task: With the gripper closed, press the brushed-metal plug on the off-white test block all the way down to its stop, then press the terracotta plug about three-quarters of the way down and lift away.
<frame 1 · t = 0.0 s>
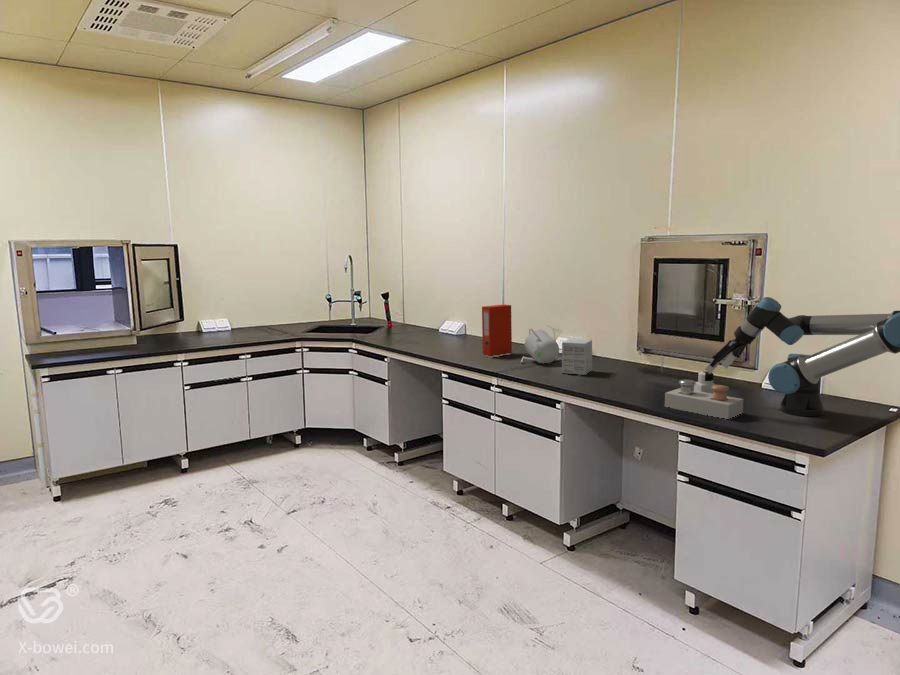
hand: (716, 369, 249), 15 cm above the worktop, tool tilted 35°, fingers open, 13 cm apart
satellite: (542, 363, 351), on the worktop
file binder: (497, 356, 377), on the worktop
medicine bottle: (705, 399, 260), on the worktop
test block: (702, 410, 244), on the worktop
supplement box: (577, 373, 321), on the worktop
terracotta plug: (719, 395, 237), point 7 cm above the worktop, slide at 0.0 cm
metal plug: (687, 390, 248), point 7 cm above the worktop, slide at 0.0 cm
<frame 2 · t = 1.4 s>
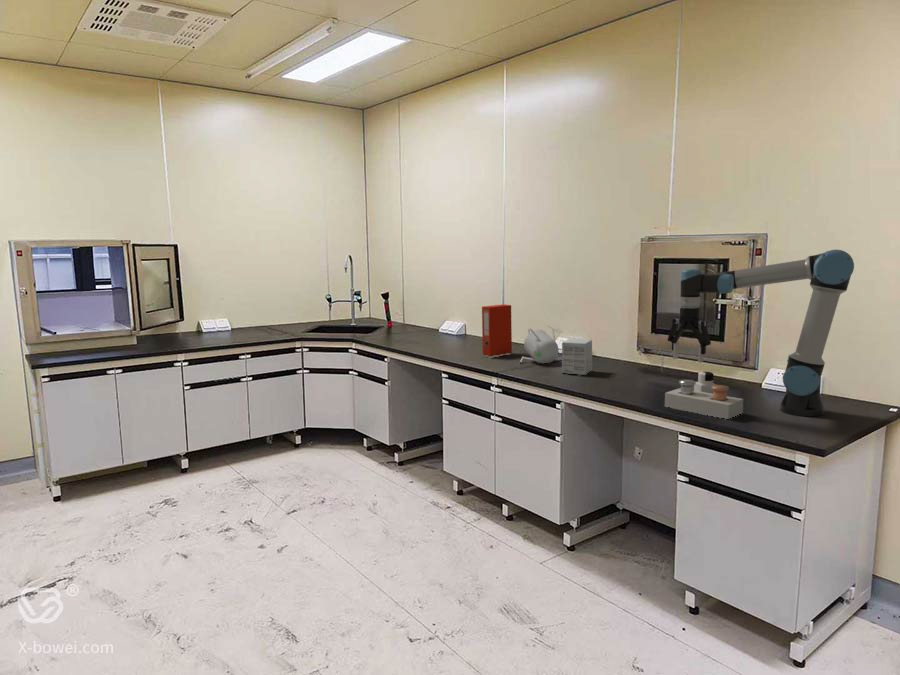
hand: (688, 360, 246), 20 cm above the worktop, tool pointing down, fingers open, 10 cm apart
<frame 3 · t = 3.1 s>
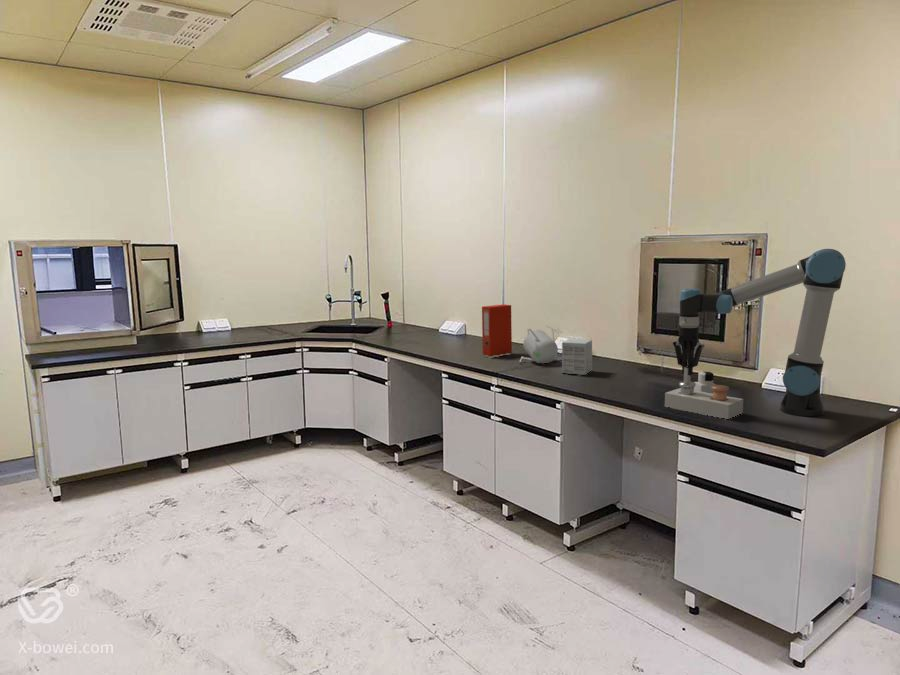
hand: (687, 382, 247), 11 cm above the worktop, tool pointing down, fingers closed
metal plug: (687, 391, 248), point 6 cm above the worktop, slide at 0.8 cm, touching gripper
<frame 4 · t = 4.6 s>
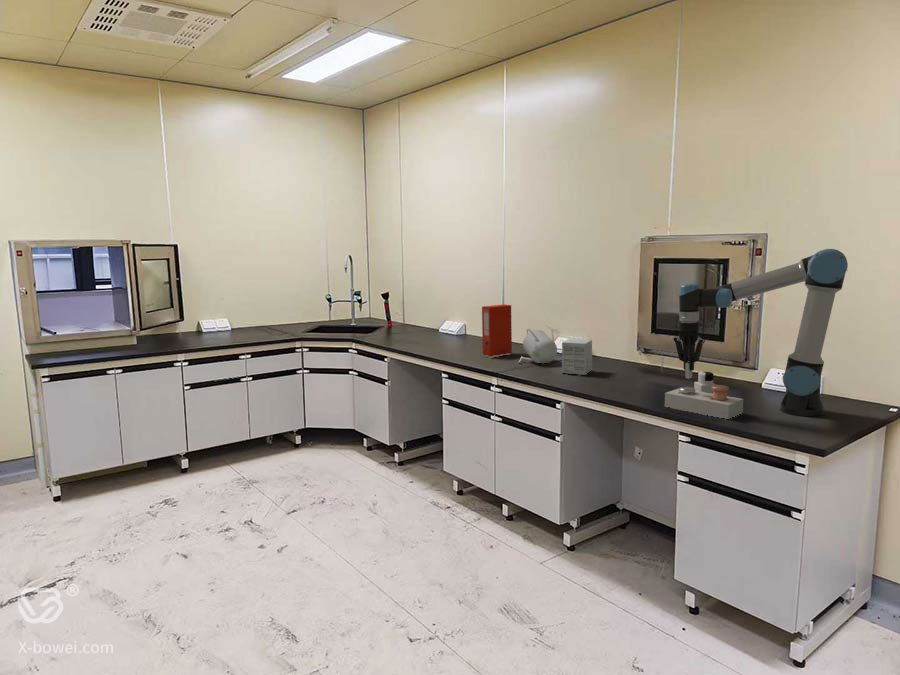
hand: (688, 377, 247), 13 cm above the worktop, tool pointing down, fingers closed
metal plug: (686, 397, 248), point 4 cm above the worktop, slide at 3.1 cm
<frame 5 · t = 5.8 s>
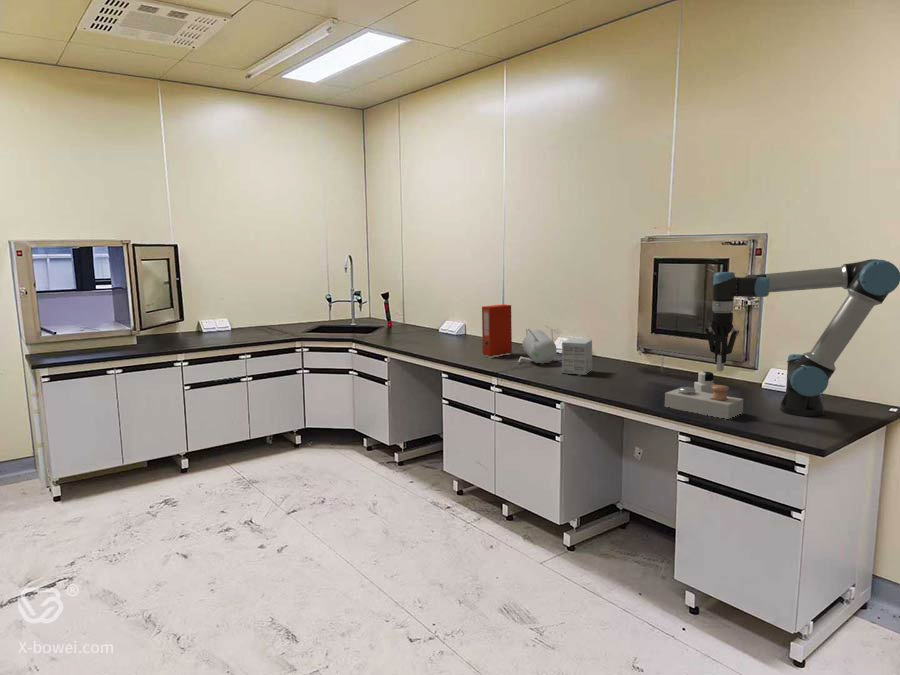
hand: (720, 370, 236), 18 cm above the worktop, tool pointing down, fingers closed
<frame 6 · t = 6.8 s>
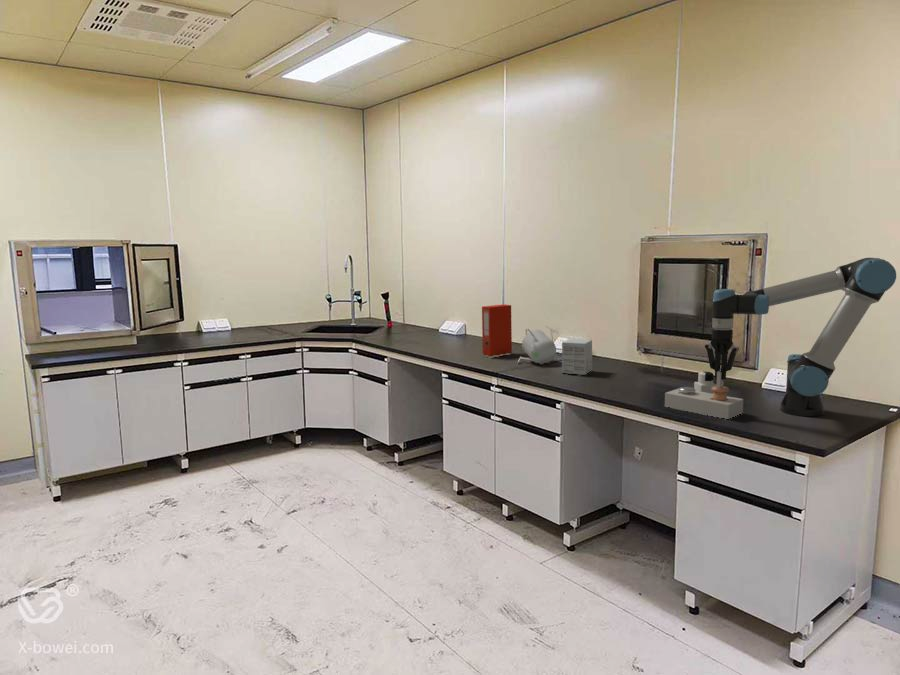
hand: (719, 387, 236), 11 cm above the worktop, tool pointing down, fingers closed
terracotta plug: (719, 396, 237), point 7 cm above the worktop, slide at 0.4 cm, touching gripper
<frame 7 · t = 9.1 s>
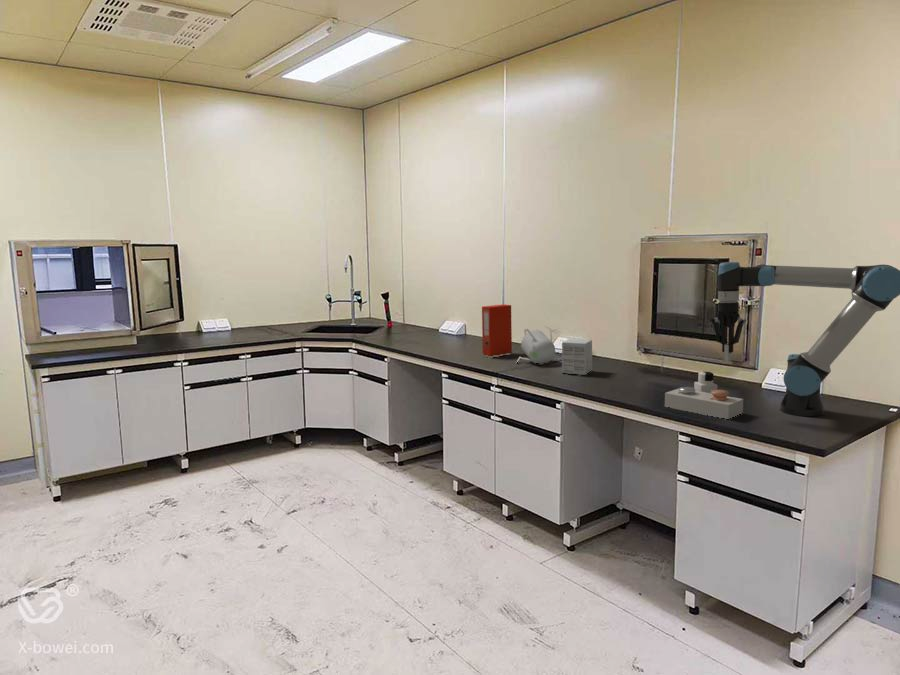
hand: (727, 360, 237), 21 cm above the worktop, tool pointing down, fingers closed
terracotta plug: (719, 400, 237), point 5 cm above the worktop, slide at 2.0 cm
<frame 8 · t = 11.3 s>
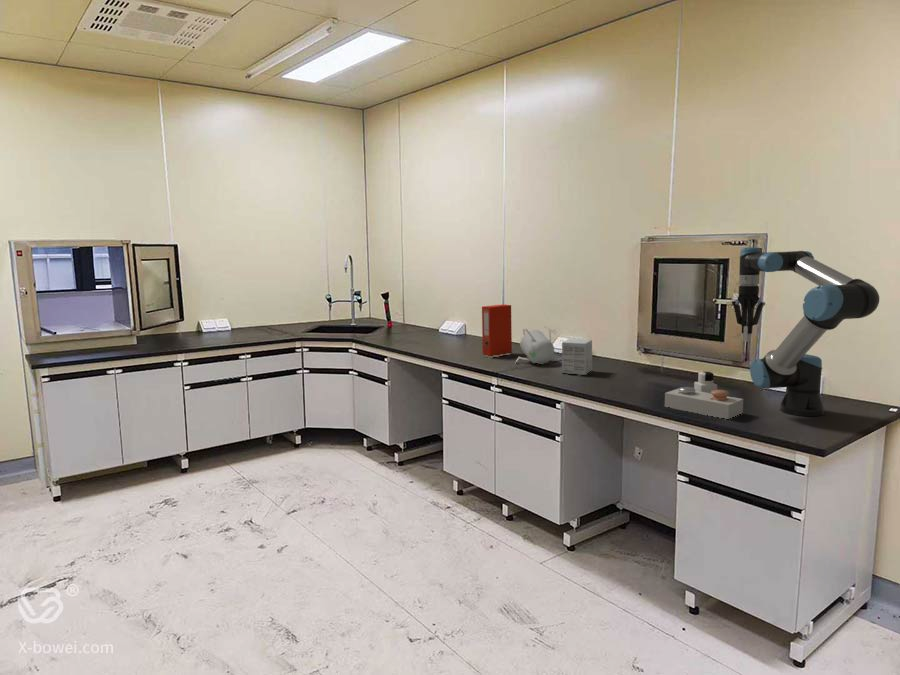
hand: (746, 341, 249), 26 cm above the worktop, tool pointing down, fingers closed
at the end: metal plug slide at 3.1 cm; terracotta plug slide at 2.0 cm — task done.
